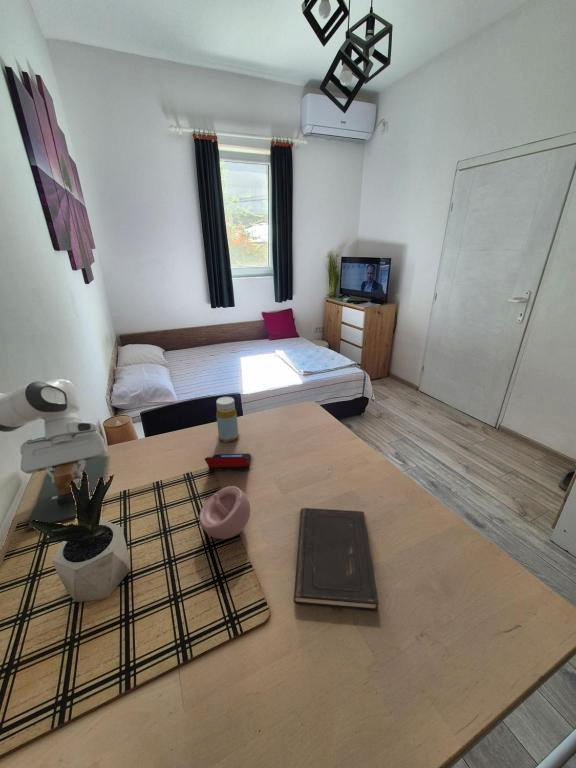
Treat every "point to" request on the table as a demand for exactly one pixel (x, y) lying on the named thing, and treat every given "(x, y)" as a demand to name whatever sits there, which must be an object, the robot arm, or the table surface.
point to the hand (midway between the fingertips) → (67, 480)
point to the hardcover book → (334, 561)
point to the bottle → (226, 419)
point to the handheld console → (228, 462)
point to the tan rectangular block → (66, 481)
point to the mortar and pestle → (225, 513)
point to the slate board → (47, 500)
